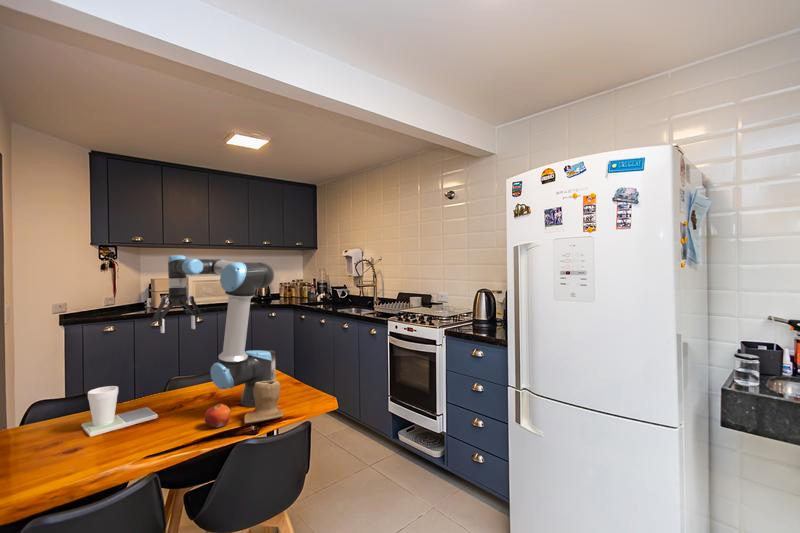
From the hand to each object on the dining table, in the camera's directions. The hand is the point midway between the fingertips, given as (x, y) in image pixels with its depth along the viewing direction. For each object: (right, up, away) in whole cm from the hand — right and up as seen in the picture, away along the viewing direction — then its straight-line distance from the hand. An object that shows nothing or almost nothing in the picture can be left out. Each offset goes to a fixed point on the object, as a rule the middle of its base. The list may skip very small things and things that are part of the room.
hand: (178, 330), depth 181 cm
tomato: (+36, -31, -35) cm, 59 cm away
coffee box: (+35, -31, +21) cm, 51 cm away
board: (-5, -32, -30) cm, 44 cm away
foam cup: (-9, -31, -34) cm, 47 cm away
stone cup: (+52, -31, -29) cm, 67 cm away
